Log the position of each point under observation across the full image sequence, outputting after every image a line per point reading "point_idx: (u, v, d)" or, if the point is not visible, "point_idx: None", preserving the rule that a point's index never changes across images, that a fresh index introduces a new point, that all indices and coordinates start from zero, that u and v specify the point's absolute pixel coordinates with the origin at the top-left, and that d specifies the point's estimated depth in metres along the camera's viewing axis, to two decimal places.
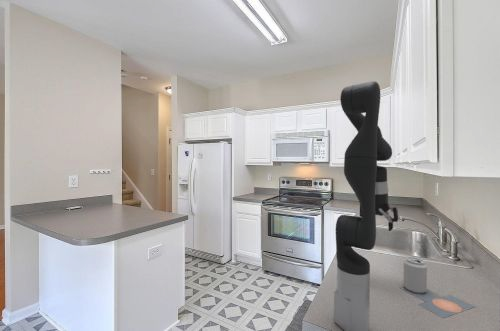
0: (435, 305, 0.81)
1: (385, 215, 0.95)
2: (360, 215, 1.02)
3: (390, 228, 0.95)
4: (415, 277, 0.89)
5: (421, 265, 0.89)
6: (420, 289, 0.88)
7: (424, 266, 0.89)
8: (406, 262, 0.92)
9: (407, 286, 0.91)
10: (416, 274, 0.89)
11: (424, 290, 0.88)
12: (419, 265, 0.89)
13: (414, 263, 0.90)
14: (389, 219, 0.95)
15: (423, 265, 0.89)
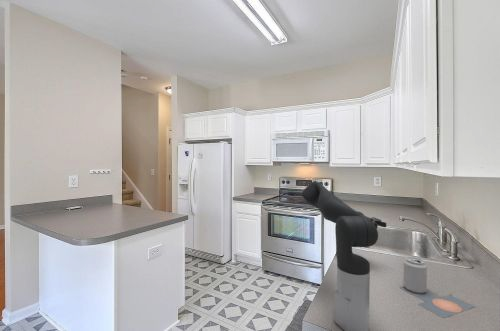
0: (435, 305, 0.81)
1: (371, 218, 1.12)
2: None
3: None
4: (415, 277, 0.89)
5: (421, 265, 0.89)
6: (420, 289, 0.88)
7: (424, 266, 0.89)
8: (406, 262, 0.92)
9: (407, 286, 0.91)
10: (416, 274, 0.89)
11: (424, 290, 0.88)
12: (419, 265, 0.89)
13: (414, 263, 0.90)
14: (376, 220, 1.11)
15: (423, 265, 0.89)
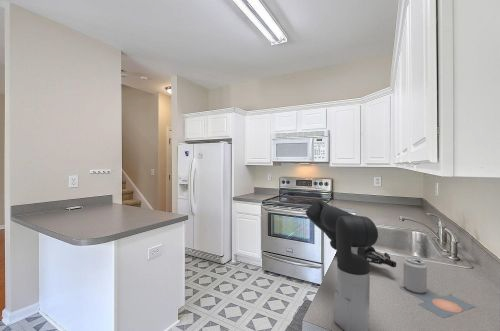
0: (435, 305, 0.81)
1: (382, 254, 1.07)
2: (380, 258, 1.03)
3: (393, 261, 1.01)
4: (415, 277, 0.89)
5: (421, 265, 0.89)
6: (420, 289, 0.88)
7: (424, 266, 0.89)
8: (406, 262, 0.92)
9: (407, 286, 0.91)
10: (416, 274, 0.89)
11: (424, 290, 0.88)
12: (419, 265, 0.89)
13: (414, 263, 0.90)
14: (385, 257, 1.04)
15: (423, 265, 0.89)
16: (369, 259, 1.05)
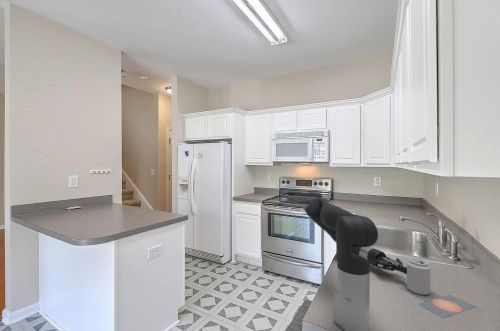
0: (435, 305, 0.81)
1: (393, 260, 1.01)
2: (392, 264, 0.98)
3: (406, 267, 0.95)
4: (418, 279, 0.88)
5: (425, 266, 0.88)
6: (424, 290, 0.87)
7: (428, 267, 0.88)
8: (409, 263, 0.91)
9: (410, 288, 0.90)
10: (420, 276, 0.87)
11: (428, 292, 0.87)
12: (423, 266, 0.88)
13: (418, 264, 0.88)
14: (397, 263, 0.99)
15: (427, 266, 0.88)
16: (380, 265, 1.00)
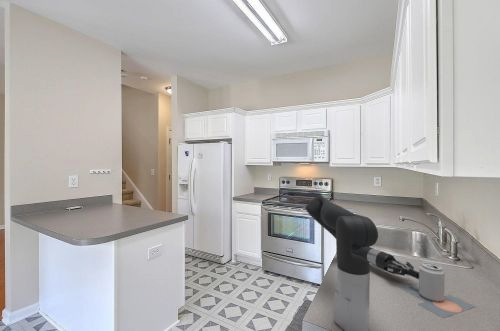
0: (435, 305, 0.81)
1: (404, 264, 0.97)
2: (402, 268, 0.93)
3: (418, 272, 0.91)
4: (433, 284, 0.83)
5: (439, 271, 0.83)
6: (439, 297, 0.83)
7: (442, 272, 0.83)
8: (422, 268, 0.86)
9: (424, 294, 0.85)
10: (435, 282, 0.83)
11: (442, 298, 0.83)
12: (437, 271, 0.83)
13: (432, 269, 0.84)
14: (408, 267, 0.95)
15: (441, 271, 0.84)
16: (390, 269, 0.95)
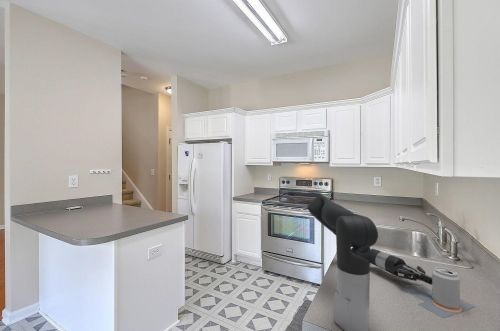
0: (435, 305, 0.81)
1: (415, 268, 0.93)
2: (414, 273, 0.89)
3: (431, 277, 0.87)
4: (448, 291, 0.79)
5: (455, 277, 0.79)
6: (454, 303, 0.79)
7: (458, 278, 0.79)
8: (437, 274, 0.82)
9: (439, 301, 0.81)
10: (450, 288, 0.79)
11: (458, 305, 0.79)
12: (453, 277, 0.79)
13: (447, 275, 0.80)
14: (419, 272, 0.91)
15: (456, 277, 0.80)
16: (401, 274, 0.91)
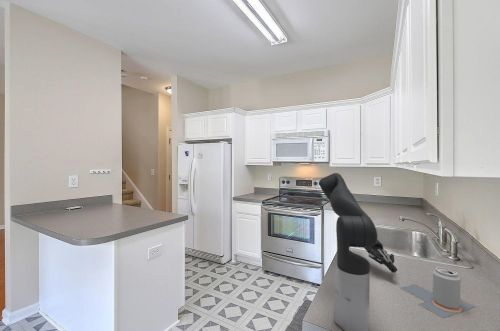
0: (435, 305, 0.81)
1: (387, 255, 1.03)
2: (383, 259, 1.00)
3: (395, 267, 0.97)
4: (449, 291, 0.79)
5: (455, 277, 0.79)
6: (455, 304, 0.79)
7: (458, 278, 0.79)
8: (437, 274, 0.82)
9: (439, 301, 0.81)
10: (451, 288, 0.79)
11: (459, 305, 0.79)
12: (453, 277, 0.79)
13: (447, 275, 0.80)
14: (388, 260, 1.01)
15: (457, 277, 0.79)
16: (371, 255, 1.02)
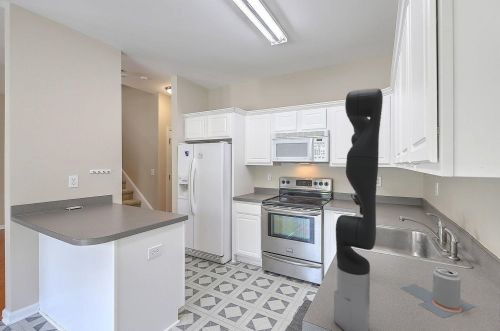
0: (435, 305, 0.81)
1: None
2: (361, 204, 1.02)
3: None
4: (449, 291, 0.79)
5: (455, 277, 0.79)
6: (455, 304, 0.79)
7: (458, 278, 0.79)
8: (437, 274, 0.82)
9: (439, 301, 0.81)
10: (451, 288, 0.79)
11: (459, 305, 0.79)
12: (453, 277, 0.79)
13: (447, 275, 0.80)
14: None
15: (457, 277, 0.79)
16: (353, 197, 1.02)
